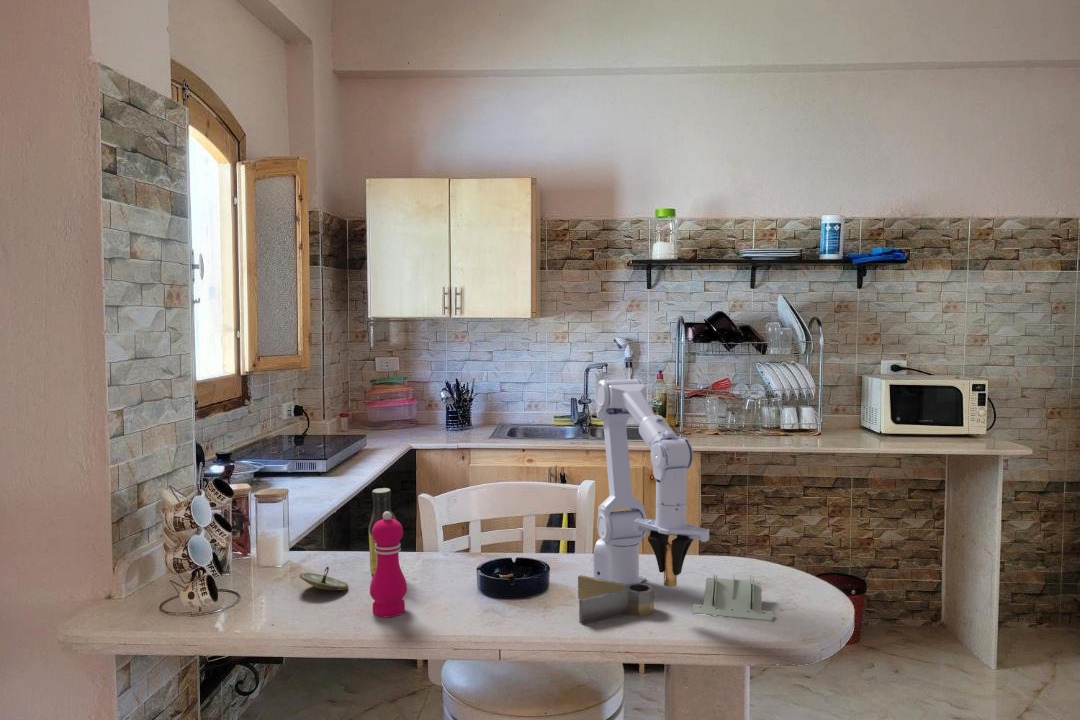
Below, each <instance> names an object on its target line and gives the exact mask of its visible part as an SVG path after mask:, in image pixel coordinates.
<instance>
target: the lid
mask: <svg viewBox="0 0 1080 720" xmlns="http://www.w3.org/2000/svg"><path fill="white" fill-rule="evenodd" d="M329 569H330V568H329V566H326V567H325V569H324V574H323V575H322V574H319V573H312V572H302V573H300V574H299V578H300V579H301V580H303V581H304V582H305V583H307V584H309V585H311V586H312V587H314V588H316V589H321V590H326V591H332V592H333V591H346V590H348V589H349V585H348V583H346V582H344V581H341V580H340V579H337V578H333V577H330V576H327V575H328V573H329Z"/></svg>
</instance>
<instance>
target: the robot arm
mask: <svg viewBox="0 0 1080 720" xmlns="http://www.w3.org/2000/svg"><path fill="white" fill-rule="evenodd" d="M594 403H595V412H596V418H597V419H600V420H601V421H602V423H603V433H604V434H603V435H604V446H605V456H606V457H605V458H606V468H607V483H608V494H609V496H608V497H607V498H606V499H605V500H603V502H602V503H600V504H599V506H598V507H597V513H598V514H597V521H596V527H597V533H598V535H599V538H598V540H597V541H596V543H595V545H594V547H593V548H594V549H593V578H597V579H602V580H607V581H612V582H617V583H622V584H627V585H628V584H632V583H642V582H644V581H645V580H646V579H647V577H646V576H645V575H640V543H643V539H644V538H645V537H646V536H647V533H650V534H649V535H648V536H647V541H648V543H649V545H650V547H651V548H652V550H653V552H654V553H653V554H654V556H655V559H656V562H657V566H658V567H657V568H658V571H659V573H662V574H664V543H665V542H669V538H670V536H674V537H675V538H674V539H672V540H671V542H672V546H673V553H674V575H677V576H679V575H680V574H682V571H683V565H684V562H685V559H686V555H687V553H688V551H689V549H690V547H691V544H692V543H693V541H694V540H699V541H700V542H703V543H706V542H708V541H709V540H710V529H709V528H704V527H700V526H696V525H693V524H689V523H687V491H688V489H687V487H688V486H687V481H688V478H687V477H688V469H690V468H691V466H692V465H693V461H694V451H693V450H694V449H693V446H692V444H691V442H690V440H689V438H687V437H682V436H681V435H679V436H678V435H677V434H676V433H675V432H674V430H673V429H672V428H671V426H670V425H669V424H668V422H667V421H666V419H665V418H664V417H663V416H662V415H658V414H655V412H654V411H653V408H652V407H651V405H650V404H649V402H648V400H647V387H646V384H645V383H644V381H643V380H642V379H641V378H635V379H634V378H632V379H610V380H609V379H608V380H607V379H600V380H599V381H598V383H597V384H596V387H595V389H594ZM631 418H633V419H634V420H635V421H636V422H637V423H638V425H639V426H638V433H639V435H640V437H641V438H642V440H643V441H644V443H645V444H646V446H647V448H648V449H649V450H650V460H651V465H652V471H653V472H652V473H653V477H654V478H655V519H648V518H647V515H646V512H645V506H644V503H643V502H642V501H641V500H639V499H637V498H636V497H635V496H634V495H633V489H632V488H633V487H632V477H631V476H632V475H631V467H630V466H631V465H630V456H629V455H630V453H629V443H628V434H627V433H628V432H627V430H628V429H627V423H628V421H629V419H631ZM626 509H627V510H626ZM628 509H629V510H628ZM615 510H616V511H615ZM618 510H620V511H618Z"/></svg>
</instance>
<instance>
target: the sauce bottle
mask: <svg viewBox="0 0 1080 720" xmlns="http://www.w3.org/2000/svg"><path fill="white" fill-rule="evenodd" d="M371 494H372V495H371V497H372V499H373V500H372V504H373V505H372V506H373V508H372V509H373V511H372V514H371V517H370V520H369V525H368V544H369V546H368V549H369V564H370V565H369V567H370V568H369V569H370V577H371V578H372V579H373V576H374V574H375V571H376V567H377V553H376V552H375V544H376V542H375V541H374V540H373V538H372V529H373V526H374V525H375V524H376V523H377V522H378V521H380V520H382V519H383V513H384V512H386V511H388V512H390V513H391V514H392V517H391V519H394V520H397V518H396V516H395V514H394V512H393V511H392V506H391V496H392V491H391V489H390V488H388V487H382V488H381V487H380V488H375V489H373V490H372V491H371ZM399 558H400V557H399V554H398V559H399ZM399 560H400V559H399ZM372 579H371V580H372Z"/></svg>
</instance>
